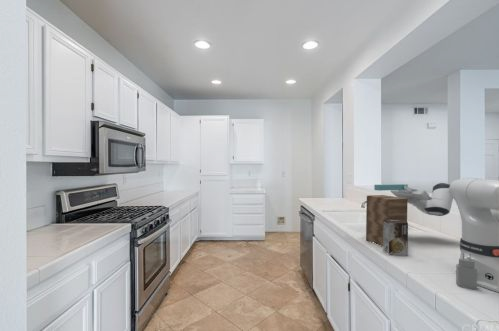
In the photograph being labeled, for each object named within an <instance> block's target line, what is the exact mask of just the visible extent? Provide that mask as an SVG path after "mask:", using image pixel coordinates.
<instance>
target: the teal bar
mask: <svg viewBox="0 0 499 331" xmlns="http://www.w3.org/2000/svg"><path fill="white" fill-rule="evenodd" d="M403 186H407V187H409V184H406V183H395V184H394V183H391V184H390V183H389V184H387V183H385V184H383V183H382V184H374V187H373V188H374V191H378V192H379V191H382V192H383V191H391V190H405V189H403V188H402V187H403Z"/></svg>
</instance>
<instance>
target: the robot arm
mask: <svg viewBox="0 0 499 331" xmlns="http://www.w3.org/2000/svg"><path fill="white" fill-rule="evenodd" d="M402 188H403V189H405V190H390V193H392V194H393V195H394V197H399V198H406V199H408V205H412V206H413V207H415V208H417V209H418V210H419V211H420V212H422V213H424V214H426V215H428V216H434V217H435V216H436V217H443V216H446V215H448V214H450V212H451V208H452V203H453V200H454V202H455V203H456V206H457V208H458V211H459V214H460V219H461V238H460V242H459V249H460V257H459V259H460V258H462V259H463V253H464V259H469V256H470V254H471V260H473V261H475V266H474V267H476V268H477V287H478V286H479V287H482V288H484V289H487V290H489V291H490V290H491V291H493V292H496V293H499V179H490V178H489V179H488V178H478V177H464V178H458V179H455V180H453V181H452V182H451V183H447V182H440V183H436V184H435V185H433V187H432V192H431V196H430V194H429V193H428V192H427V191H426V190H425V189H421V188H412V187H410V186H408V187H407V186H403V187H402Z"/></svg>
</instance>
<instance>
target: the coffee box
mask: <svg viewBox="0 0 499 331" xmlns="http://www.w3.org/2000/svg"><path fill="white" fill-rule="evenodd" d="M382 248H383V249H382V251H383V250H384V251H385V252H384V251H383V252H384V253H385V254H387V253H388V254H392V255H391V256H405V255H406V256H407V257H408V255H409V222H408V221H407V222H405V221H403V220H384V227H383V247H382ZM388 254H387V255H388Z"/></svg>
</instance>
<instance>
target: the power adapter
mask: <svg viewBox="0 0 499 331" xmlns="http://www.w3.org/2000/svg"><path fill="white" fill-rule="evenodd" d="M474 266H475V261H473V260H471V254H470V256H469V259H464V253H463V259H462V258H460V257H459V258H458V263H456V266H455V267H456V268H455V285H456V286H457V287H461V288H466V289H471V290H475V291H476V290H478V285H477V268H476V267H474Z"/></svg>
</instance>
